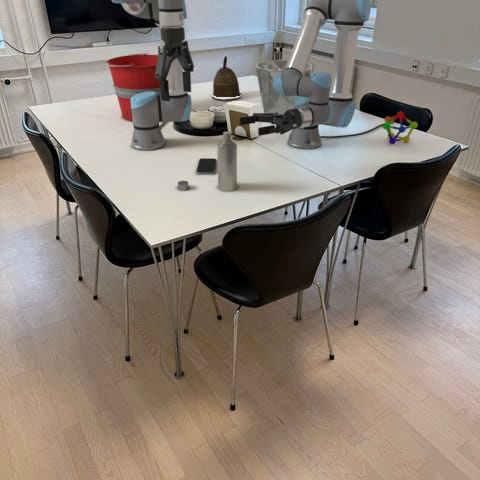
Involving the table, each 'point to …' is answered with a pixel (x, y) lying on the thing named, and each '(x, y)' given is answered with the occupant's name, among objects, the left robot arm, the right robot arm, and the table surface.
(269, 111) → the bucket
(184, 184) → the cap
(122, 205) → the table surface
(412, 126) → the educational toy
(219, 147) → the bottle
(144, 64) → the bucket
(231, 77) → the bell
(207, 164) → the smartphone
